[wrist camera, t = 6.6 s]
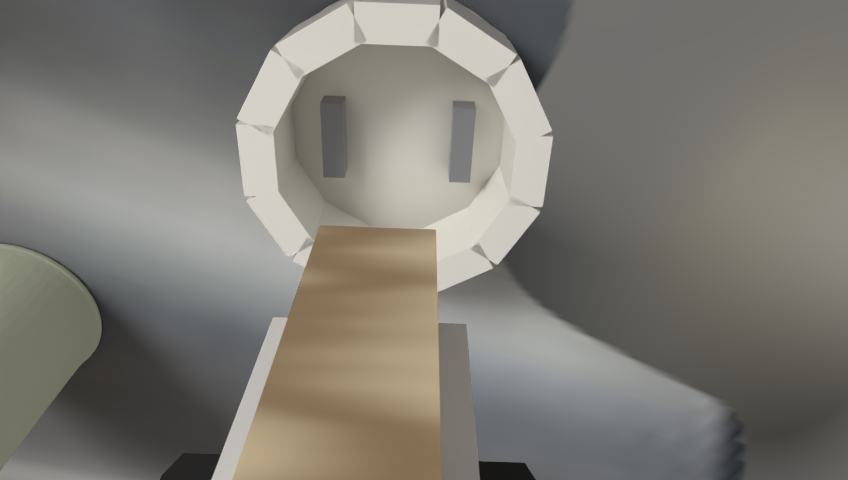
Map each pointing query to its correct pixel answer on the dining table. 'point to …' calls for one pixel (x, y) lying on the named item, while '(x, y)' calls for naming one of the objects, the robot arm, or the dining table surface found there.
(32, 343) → the can
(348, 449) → the wooden block
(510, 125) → the white thick ring
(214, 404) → the dining table surface
